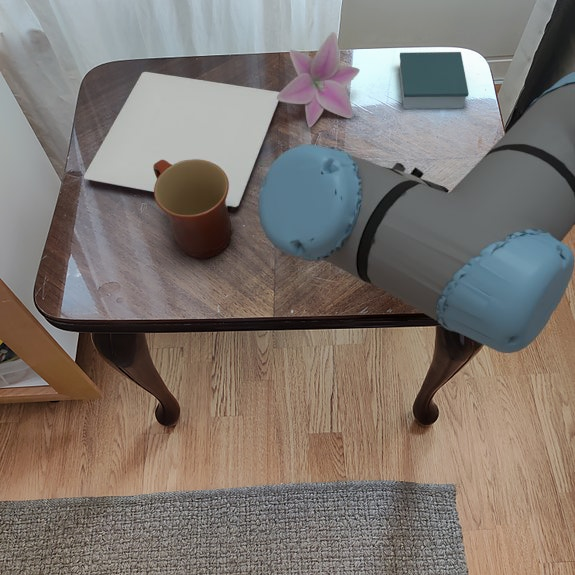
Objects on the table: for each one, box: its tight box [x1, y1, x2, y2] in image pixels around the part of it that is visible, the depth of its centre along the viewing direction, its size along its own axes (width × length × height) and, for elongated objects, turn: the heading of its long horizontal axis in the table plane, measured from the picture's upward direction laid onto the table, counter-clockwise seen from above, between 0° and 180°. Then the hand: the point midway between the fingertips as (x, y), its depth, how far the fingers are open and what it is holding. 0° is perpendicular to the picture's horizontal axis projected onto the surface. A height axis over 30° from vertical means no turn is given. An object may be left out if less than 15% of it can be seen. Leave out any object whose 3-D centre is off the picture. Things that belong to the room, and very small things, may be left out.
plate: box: [83, 71, 281, 208], centre depth 86 cm, size 22×22×2 cm
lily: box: [276, 31, 361, 128], centre depth 87 cm, size 12×12×10 cm
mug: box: [153, 159, 233, 259], centre depth 74 cm, size 12×9×10 cm
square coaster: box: [398, 51, 470, 110], centre depth 89 cm, size 9×9×3 cm
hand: (481, 234), depth 68 cm, fingers open, 13 cm apart
